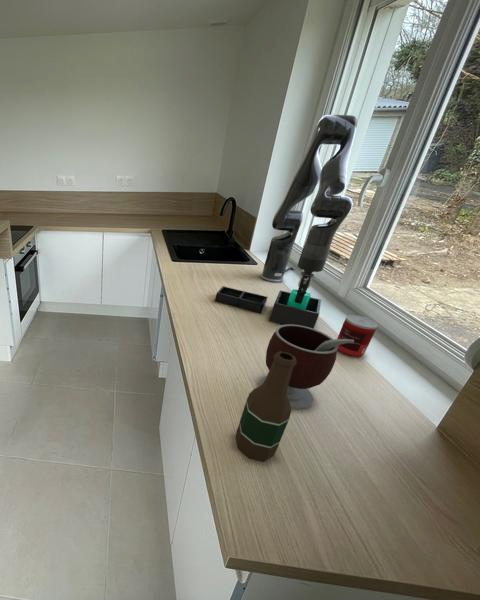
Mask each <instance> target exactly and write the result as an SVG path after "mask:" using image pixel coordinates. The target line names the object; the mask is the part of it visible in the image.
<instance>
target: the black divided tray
mask: <svg viewBox="0 0 480 600" xmlns="http://www.w3.org/2000/svg"><path fill="white" fill-rule="evenodd" d="M267 301H268V296H265V295H262V294H258V293H253V292H248V291H246V290H241V289H236V288H232V287H229V286H224V285H223V286H221V287H220V288H219V290H218V291H217V292H216V295H215V299H214V302H215V303H218V304H223V305H227V306H230V307H234V308H237V309H240V310H246V311H249V312H252V313H256V314H260V315H261V314H262V313H263V311H264V308H265V307H266V304H267Z"/></svg>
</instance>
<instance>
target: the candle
mask: <svg viewBox="0 0 480 600" xmlns="http://www.w3.org/2000/svg"><path fill="white" fill-rule="evenodd" d="M297 290H298V289H295V288H293V289H291V291H290V293H291V294H290V297H289V300H288V303H287V306H291V307H296V308H300V309H304V310H305V309H306V307H307V304H308V301H309V298H310V297H311V296H312V294H311V292H307V291H306V294H305V295H304V297H303V300H302V303H301V304H300V303H295V298H296V295H297Z"/></svg>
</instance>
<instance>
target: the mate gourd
mask: <svg viewBox="0 0 480 600" xmlns="http://www.w3.org/2000/svg"><path fill="white" fill-rule="evenodd" d="M345 343H353V344H354V340H349V339H337V338H333V337H332V336H330V335H328V334H327V333H325V332H322V331H321V330H319V329H315V328H314V329H313V328H309V327H305V326H301V325H293V324H287V325H281V324H280V325H279V326H276V329H275V331H274V332H273V334H272V336H271V337H270V339H269V341H268V345H267V347H266V352H265V365H266V367H267V369H268V371H269V370H270V368H271V366H272V363H273V361H274V357H273V356H274V355H275V353H277V352H280V351H281V352H287V353H289V354H291V355H293V356H295V358H296V362H297V365H295V366H294V367H293V370H292V374H291V377H290V381H289V384H288V388H287V396H288V399H289V402H290V405H291V410H307V409H309V408H310V407H311V406H312V405H313V403H314V397H313V395H312V393H311V391H309V389H311V388H313V387H317V386H320V385H321V384H323V383H324V381H326V380H327V378H328V377H329V375H330V374H331V372H332V371H333V368H334V366H335V363H336V360H337V357H338V351H337V349H338V345H341V344H345ZM266 377H267V375H266V376H263V377H262V378H261V379H260V380H259V383H258V387H259V386H261V385H262V384H263V382H264V381H265V379H266Z"/></svg>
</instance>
